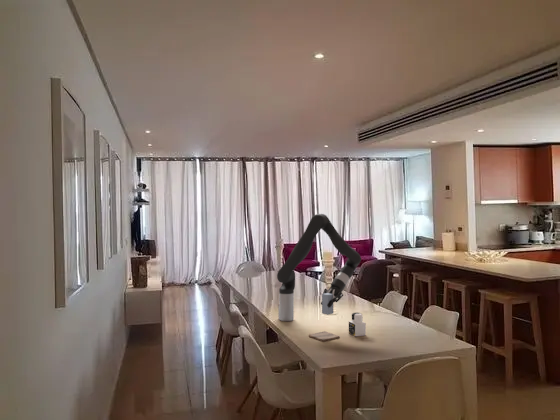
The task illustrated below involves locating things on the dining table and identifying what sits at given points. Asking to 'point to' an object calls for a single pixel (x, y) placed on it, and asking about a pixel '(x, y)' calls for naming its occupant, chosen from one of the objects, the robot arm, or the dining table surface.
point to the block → (325, 300)
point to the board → (324, 336)
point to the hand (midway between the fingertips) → (325, 305)
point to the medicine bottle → (357, 325)
